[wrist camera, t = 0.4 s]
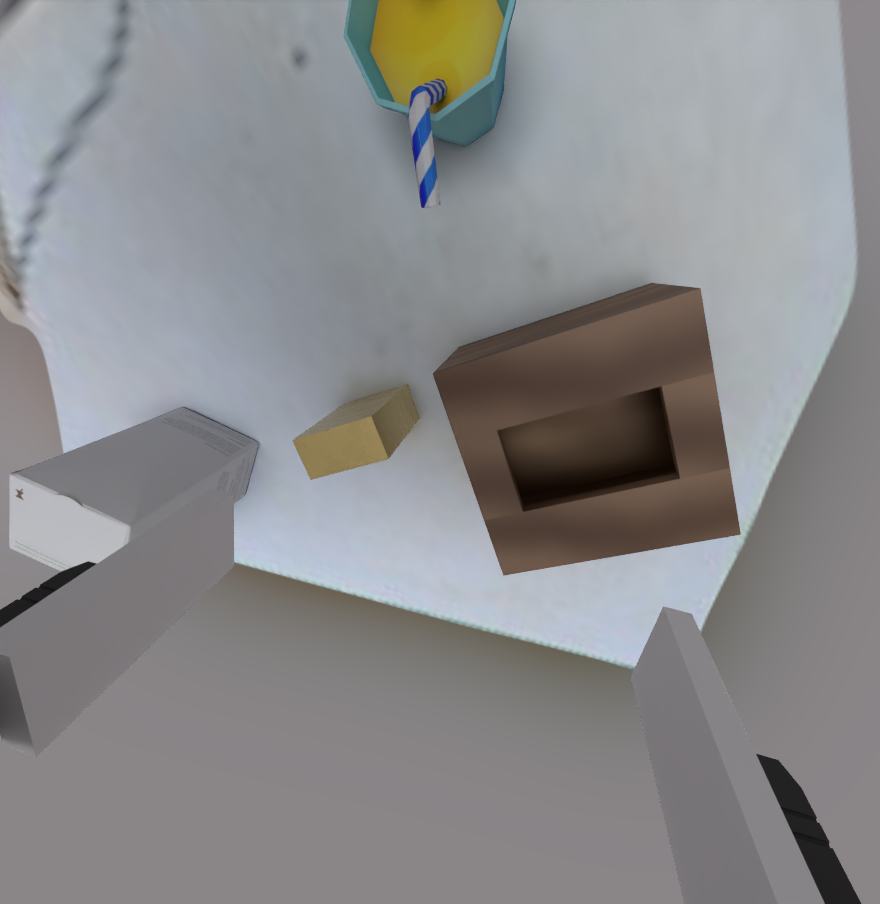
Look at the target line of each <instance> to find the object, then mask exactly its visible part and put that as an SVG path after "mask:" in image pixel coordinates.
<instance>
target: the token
mask: <svg viewBox="0 0 880 904" xmlns="http://www.w3.org/2000/svg"><path fill="white" fill-rule="evenodd" d="M419 419H420V416H419V414H418V411H417V408H416V406H415V403H414V400H413V398H412V395H411V392H410V389H409V387H408V384H406V385H403V386H400V387H397V388H394V389H390V390H387V391H384V392H381V393H378V394H375V395H372V396H368V397H365V398H362V399H359V400H356V401H353V402H350V403H346V404H343V405H342V406H341V407H339V408H338V409H336V410H335V411H334V412H332V413H331V414H329V415H328V416H326V417H325V418H324V419H322V420H321V421H319V422H318V423H316V424H315V425H314V426H312V427H311V428H309V429H308V430H306V431H305V432H304V433H302V434H301V435H299V436H298V437H296V438H295V439H294V440H293V443H294V445H295V447H296V449H297V451H298V453H299V455H300V458H301V460H302V462H303V464H304V466H305V468H306V470H307V473H308V475H309V477H310V479H311V480H312V479H315V478H319V477H323V476H326V475H330V474H334V473H337V472H341V471H345V470H349V469H352V468H356V467H360V466H363V465H367V464H371V463H374V462H378V461H382V460H386V459H389V457H390V456H391V455H392V454H393V452H394V451H395V450H396V448H397V447H398V446H399V445H400V443H401V442H402V441H403V439H404V438H405V437H406V436H407V434H408V433H409V432H410V430H411V429H412V428H413V427H414V425H415V424H416V423H417V421H418V420H419Z"/></svg>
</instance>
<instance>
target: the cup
mask: <svg viewBox="0 0 880 904" xmlns="http://www.w3.org/2000/svg"><path fill="white" fill-rule="evenodd" d="M515 4H516V0H349V5H348V11H347V18H346V25H345V31H344V38H345V40H346V42H347V44H348V46H349V48H350V50H351V52H352V55H353V57H354V59H355V61H356V63H357V65H358V67H359V69H360V71H361V73H362V75H363V77H364V79H365V81H366V83H367V85H368V87H369V89H370V91H371V93H372V95H373V97H374V99H375V101H376V103H377V104H378V105H380V106H382V107H383V108H386V109H389V110H393V111H396V112H400V113H402V114H404V115H405V116H406V117H408V124H409V130H410V137H411V143H412V149H413V156H414V162H415V169H416V175H417V182H418V188H419V195H420V201H421V207H422V208H428V207H434V206H437V205H440V197H439V189H438V180H437V172H436V163H435V154H434V146H433V137H432V135H433V136H434V137H436V138H437V139H441V140H444V141H447V142H451V143H454V144H458V145H461V146H464V147H466V146H468V145H469V144H471V143H472V142H473V141H475V140H476V139H478V138H479V137H481V136H482V135H484V134H485V133H486V132H488V131H489V130H491V129H492V128H493V127H494V123H495V120H496V116H497V112H498V109H499V105H500V101H501V98H502V94H503V91H504V77H505V62H506V48H507V35H508V31H509V27H510V24H511V20H512V16H513V12H514V9H515Z"/></svg>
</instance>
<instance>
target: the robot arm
mask: <svg viewBox="0 0 880 904" xmlns="http://www.w3.org/2000/svg"><path fill="white" fill-rule="evenodd" d="M233 566H234V501H233V494H231V493H227V492H223V491H219V490H215V489H210V490H208V491H206V492H205V493H203V494H202V495H200V496H199V497H197V498H196V499H194V500H193V501H191V502H190V503H188V504H187V505H185V506H184V507H182V508H181V509H179V510H178V511H176V512H175V513H173V514H172V515H170V516H169V517H167V518H166V519H164V520H163V521H161V522H159V523H158V524H156V525H155V526H153V527H152V528H150V529H149V530H147V531H146V532H144V533H143V534H141V535H140V536H138V537H137V538H135V539H134V540H132V541H131V542H129V543H128V544H126V545H125V546H123V547H122V548H120V549H119V550H117V551H116V552H114V553H112V554H111V555H109V556H108V557H106V558H105V559H103V560H102V561H100V562H99V563H97V564H96V563H93V562H89V561H88V562H85V563H82V564H80V565H77V566H74V567H72V568H69V569H66V570H64V571H62V572H60V573H58V574H57V575H55V576H54V577H52V578H50V579H49V580H47V581H46V582H44V583H42V584H41V585H40V587H39V588H34V589H33V590H31V591H30V592H28V593H26V594H25V595H23V596H22V598H21V599H20V600H15V601H14V602H12V603H10V604H9V605H7V606H6V607H4V608H2V609H1V610H0V735H1V738H2V741H3V745H4V746H7V747H10V748H13V749H15V750H18V751H21V752H24V753H27V754H30V755H32V756H35V757H37V756H38V755H39V754H40V753H41V752H42V751H43V750H44V749H45V748H46V747H47V746H48V745H49V744H50V743H51V742H52V741H53V740H54V739H55V738H56V737H57V736H58V735H59V734H60V733H61V732H62V731H63V730H64V729H66V728H67V726H69V725H70V724H71V723H72V722H73V721H74V720H75V719H76V718H77V717H78V716H79V715H80V714H81V713H82V712H83V711H84V710H85V709H86V708H87V707H88V706H89V705H90V704H91V703H92V702H93V701H94V700H96V699H97V698H98V697H99V696H100V694H102V693H103V692H104V691H105V690H106V689H107V688H108V687H109V686H110V685H111V684H112V683H113V682H114V681H115V680H116V679H117V678H118V677H119V676H120V675H121V674H122V673H124V671H125V670H127V668H129V667H130V666H131V665H132V664H133V663H134V662H135V661H136V660H137V659H138V658H139V657H140V656H141V655H142V654H143V653H144V652H145V651H146V650H147V649H148V648H149V647H150V646H151V645H152V644H153V643H155V642H156V640H158V639H159V638H160V637H161V636H162V635H163V634H164V633H165V632H166V631H167V630H168V629H169V628H170V627H171V626H172V625H173V624H174V623H175V622H176V621H177V620H178V619H179V618H180V617H182V616H183V615H184V614H185V613H186V611H188V610H189V609H190V608H191V607H192V606H193V605H194V604H195V603H196V602H197V601H198V600H199V599H200V598H201V597H202V596H203V595H204V594H205V593H206V592H207V591H208V590H209V589H210V588H211V587H213V586H214V585H215V584H216V583H217V582H218V581H219V580H220V579H221V578H222V577H223V576H224V575H225V574H226V573H227V572H228V571H229V570H230V569H231V568H232V567H233ZM631 680H632V684H633V688H634V692H635V696H636V701H637V705H638V709H639V714H640V718H641V722H642V726H643V731H644V735H645V739H646V743H647V748H648V752H649V756H650V760H651V764H652V769H653V773H654V777H655V781H656V786H657V790H658V794H659V798H660V803H661V807H662V811H663V815H664V820H665V824H666V828H667V832H668V836H669V841H670V845H671V849H672V853H673V858H674V862H675V866H676V870H677V874H678V879H679V883H680V887H681V892H682V896H683V899H684V904H861V902H860V900H859V898H858V897H857V895H856V893H855V891H854V889H853V887H852V885H851V883H850V881H849V879H848V878H847V875H846V873H845V872H844V869H843V868H842V866H841V864H840V862H839V860H838V858H837V856H836V854H835V852H834V850H833V849H832V848H830V847H829V840H828V839H827V837H826V835H825V833H824V831H823V829H822V827H821V825H820V823H817V821H816V818H817V817H816V815H815V813H814V812H813V810H812V808H811V806H810V804H809V802H808V800H807V798H806V796H805V794H804V792H803V790H802V788H801V787H800V786H799V785H798V783H797V782H796V781H795V780H794V779H793V778H792V776H791V775H790V774H789V773H788V771H787V770H786V769H785V768H784V766H783V765H782V764H781V763H780V762H779V761H778V760H776V759H772V758H769V757H765V756H762V755H758V754H756V753H755V751H754V749H753V746H752V744H751V742H750V740H749V738H748V735H747V733H746V731H745V729H744V727H743V725H742V722H741V720H740V718H739V716H738V714H737V712H736V709H735V707H734V705H733V703H732V701H731V698H730V696H729V694H728V692H727V690H726V688H725V686H724V683H723V681H722V679H721V677H720V674H719V672H718V670H717V668H716V666H715V664H714V662H713V659H712V657H711V655H710V653H709V651H708V648H707V646H706V644H705V642H704V640H703V638H702V635H701V633H700V631H699V629H698V627H697V624H696V622H695V620H694V618H693V616H692V614H690V613H686V612H683V611H679V610H675V609H671V608H667V607H663V609H662V611H661V613H660V615H659V617H658V619H657V622H656V624H655V626H654V628H653V630H652V632H651V635H650V637H649V639H648V641H647V643H646V645H645V648H644V650H643V652H642V654H641V656H640V658H639V661H638V663H637V665H636V667H635V669H634V672H633V674H632V676H631Z"/></svg>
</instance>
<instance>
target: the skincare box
mask: <svg viewBox="0 0 880 904" xmlns="http://www.w3.org/2000/svg"><path fill="white" fill-rule="evenodd" d="M258 446H259V442H257V441H255V440H253V439H251V438H248V437H246V436H244V435H242V434H240V433H238V432H236V431H234V430H231V429H229V428H227V427H225V426H223V425H221V424H218V423H216V422H214V421H212V420H210V419H208V418H205V417H203V416H201V415H199V414H197V413H195V412H192V411H190V410H188V409H186V408H183V407H181V408H179V409H176V410H174V411H171V412H169V413H166V414H164V415H161V416H159V417H156V418H154V419H151V420H149V421H146V422H144V423H141V424H138V425H136V426H133V427H131V428H128V429H126V430H123V431H121V432H118V433H115V434H113V435H110V436H108V437H105V438H103V439H100V440H98V441H95V442H92V443H90V444H87V445H85V446H82V447H80V448H77V449H75V450H72V451H69V452H67V453H64V454H62V455H60V456H57V457H54V458H52V459H49V460H47V461H44V462H41V463H39V464H36V465H34V466H31V467H28V468H26V469H22V470H19V471H15V472H12V473H10V529H9V533H10V534H9V541H10V548H11V549H13V550H15V551H18V552H20V553H22V554H24V555H26V556H29V557H31V558H33V559H35V560H37V561H40V562H42V563H44V564H46V565H48V566H51V567H53V568H55V569H57V570H59V571H61V572H62V571H64V570H66V569H69V568H72V567H74V566H77V565H80V564H82V563H85V562H88V561H89V562H93V563H96V564H97V563H99V562H100V561H102V560H103V559H105V558H106V557H108V556H109V555H111V554H112V553H114V552H116V551H117V550H119V549H120V548H122V547H123V546H125V545H126V544H128V543H129V542H131V541H132V540H134V539H135V538H137V537H138V536H140V535H141V534H143V533H144V532H146V531H147V530H149V529H150V528H152V527H153V526H155V525H156V524H158V523H159V522H161V521H163V520H164V519H166V518H167V517H169V516H170V515H172V514H173V513H175V512H176V511H178V510H179V509H181V508H182V507H184V506H185V505H187V504H188V503H190V502H191V501H193V500H194V499H196V498H197V497H199V496H200V495H202V494H203V493H205V492H206V491H208V490H210V489H215V490H219V491H223V492H227V493H231V494H233V501H234V503H235V502H236V501H238V500H239V499H240V498H242V497H243V496H244V495H245V493H246V490H247V486H248V482H249V478H250V475H251V471H252V467H253V464H254V460H255V456H256V453H257V449H258Z"/></svg>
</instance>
